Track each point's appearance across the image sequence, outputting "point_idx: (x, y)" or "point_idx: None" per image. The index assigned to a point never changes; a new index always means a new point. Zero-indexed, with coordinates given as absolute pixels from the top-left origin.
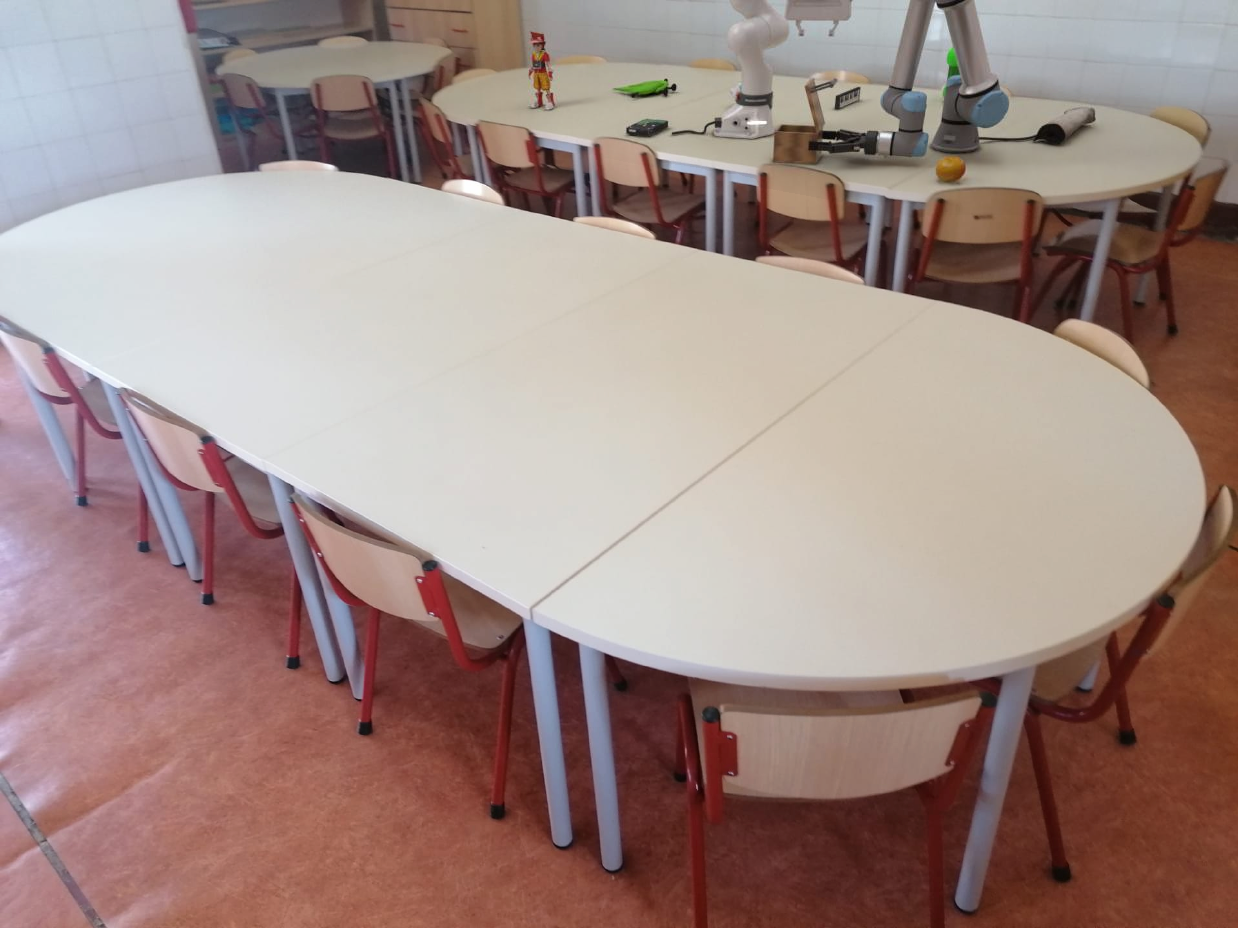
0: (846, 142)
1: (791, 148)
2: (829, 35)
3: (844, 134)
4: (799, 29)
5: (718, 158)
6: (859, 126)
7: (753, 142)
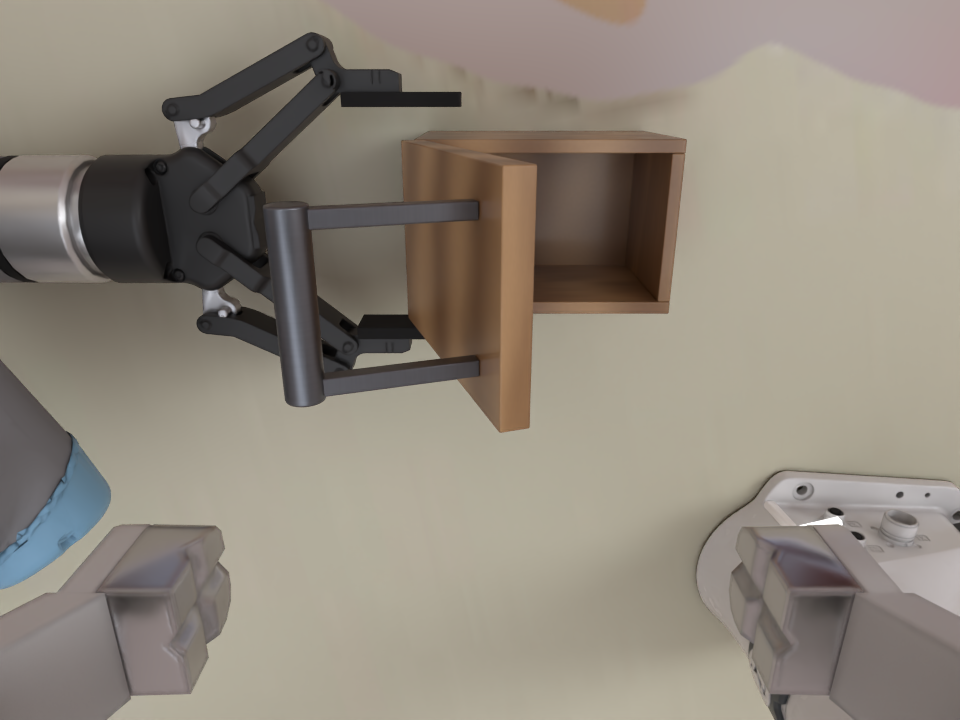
0: (250, 140)
1: (562, 134)
2: (193, 530)
3: None
4: (900, 611)
5: (930, 145)
6: (368, 691)
7: (773, 429)
